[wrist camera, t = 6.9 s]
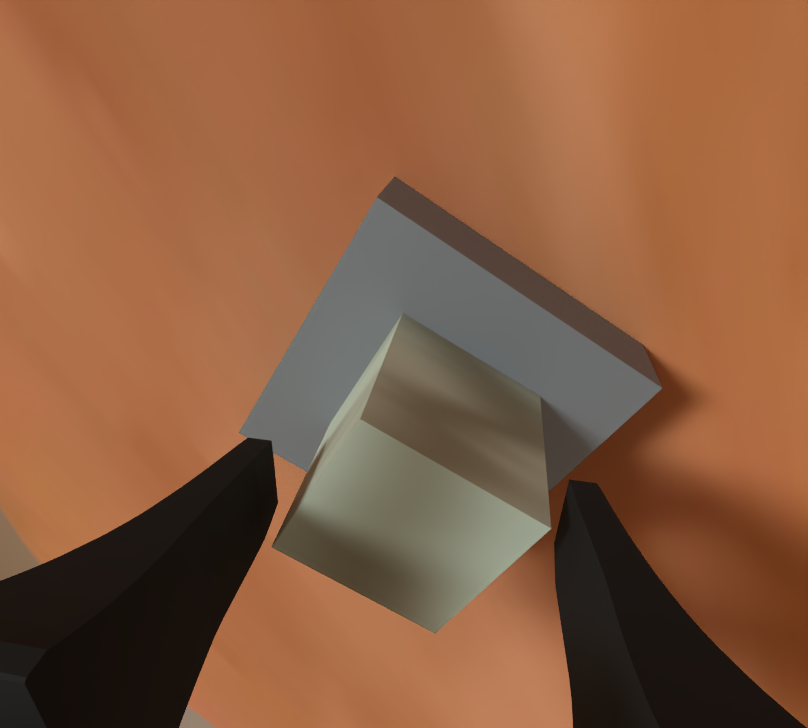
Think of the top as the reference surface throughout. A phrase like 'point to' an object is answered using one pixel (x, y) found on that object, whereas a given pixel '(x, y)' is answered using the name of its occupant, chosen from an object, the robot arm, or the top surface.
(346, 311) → the plate
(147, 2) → the top surface
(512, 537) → the sage block
